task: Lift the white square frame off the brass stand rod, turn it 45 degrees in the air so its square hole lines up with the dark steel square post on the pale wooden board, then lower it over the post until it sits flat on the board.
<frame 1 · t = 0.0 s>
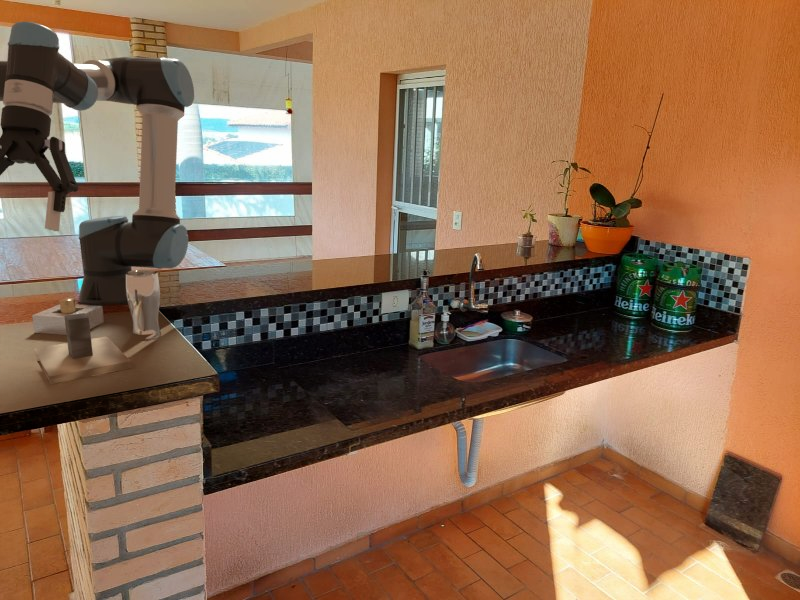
hand: (15, 228, 105), 28 cm above the worktop, tool tilted 20°, fingers open, 13 cm apart
stand: (71, 333, 135), on the worktop
hub base: (81, 361, 119), on the worktop
white square frame: (70, 327, 134), point 1 cm above the worktop, touching stand
beer glass: (146, 337, 135), on the worktop
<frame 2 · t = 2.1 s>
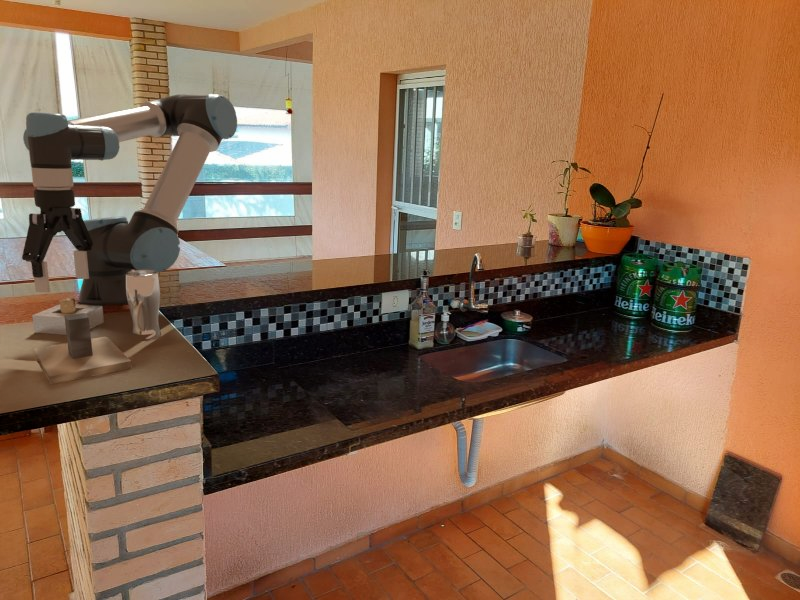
hand: (63, 284, 131), 12 cm above the worktop, tool pointing down, fingers open, 13 cm apart
nothing on the worktop moved.
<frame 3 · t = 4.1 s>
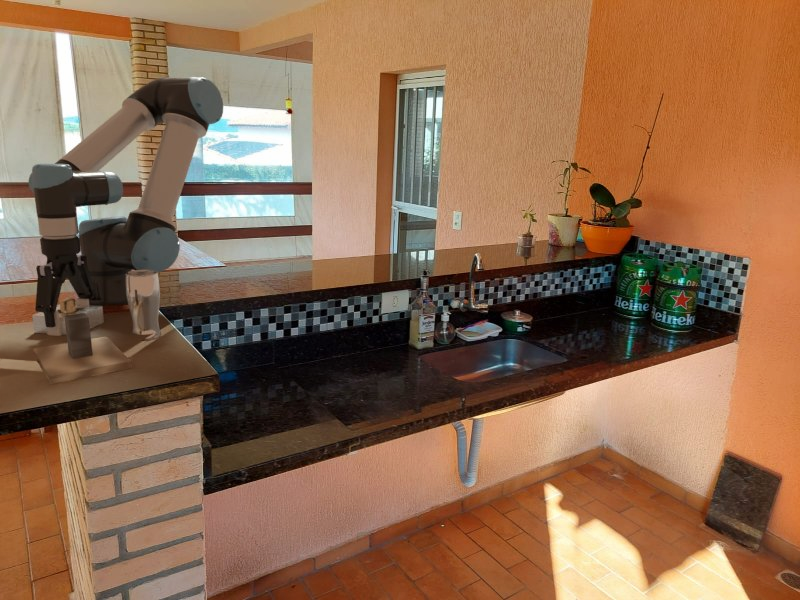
hand: (70, 332, 135), 0 cm above the worktop, tool pointing down, fingers closed on white square frame, 10 cm apart
white square frame: (70, 327, 134), point 2 cm above the worktop, touching gripper
everything else where it was.
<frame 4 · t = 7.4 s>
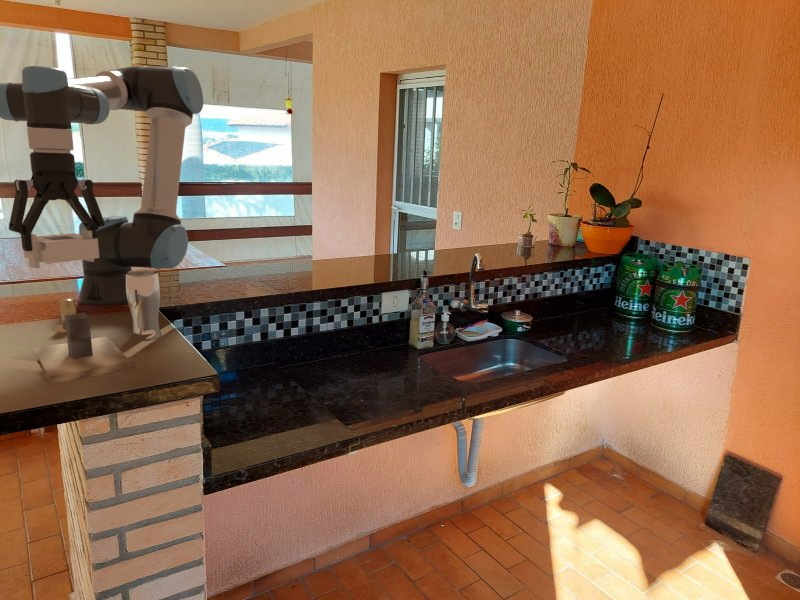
hand: (62, 263, 120), 19 cm above the worktop, tool pointing down, fingers closed on white square frame, 10 cm apart
white square frame: (62, 257, 120), point 20 cm above the worktop, touching gripper
everything else where it was.
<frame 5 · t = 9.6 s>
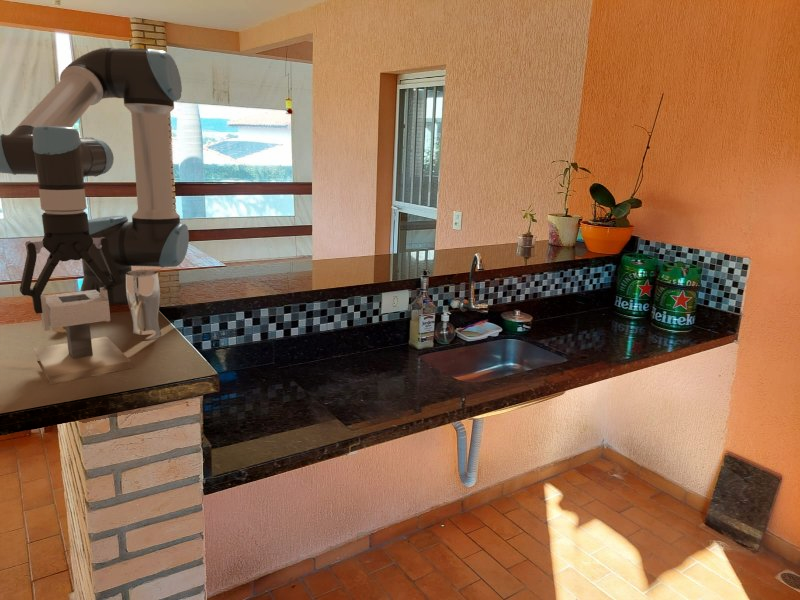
hand: (77, 324, 117), 8 cm above the worktop, tool pointing down, fingers closed on white square frame, 10 cm apart
white square frame: (76, 317, 116), point 9 cm above the worktop, touching gripper
everything else where it was.
when the fingers open (3 cm above the worktop, at t = 11.2 s): white square frame drops 2 cm, resting on hub base.
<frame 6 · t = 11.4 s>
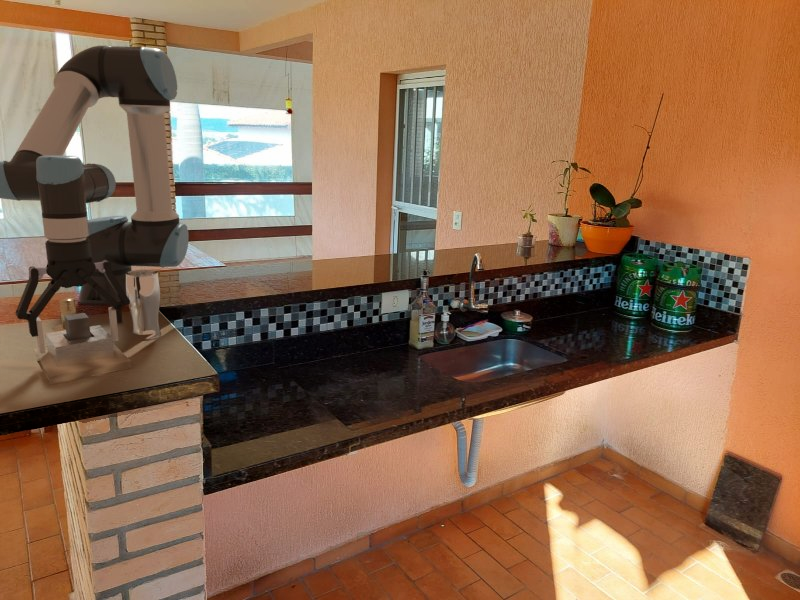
hand: (79, 345, 118), 4 cm above the worktop, tool pointing down, fingers open, 12 cm apart
white square frame: (80, 354, 118), point 1 cm above the worktop, touching hub base
everything else where it was.
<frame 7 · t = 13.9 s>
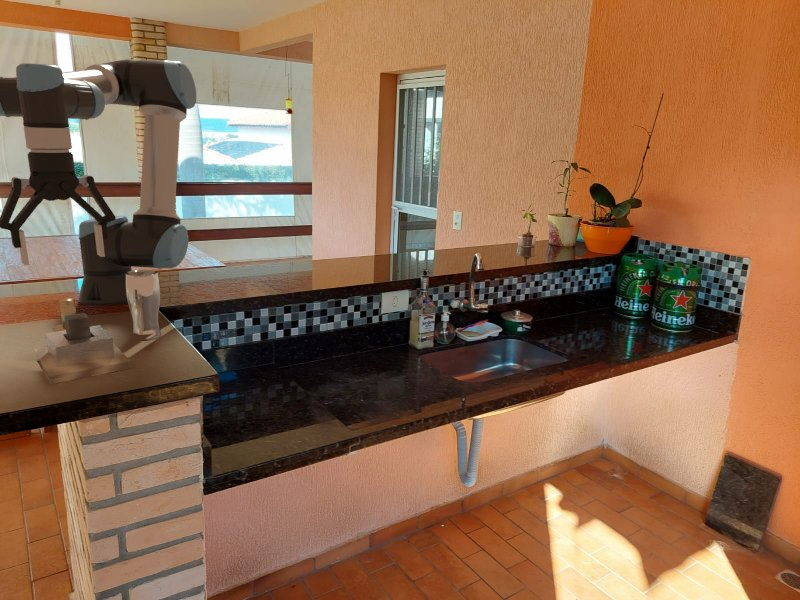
hand: (64, 259, 118), 20 cm above the worktop, tool pointing down, fingers open, 13 cm apart
nothing on the worktop moved.
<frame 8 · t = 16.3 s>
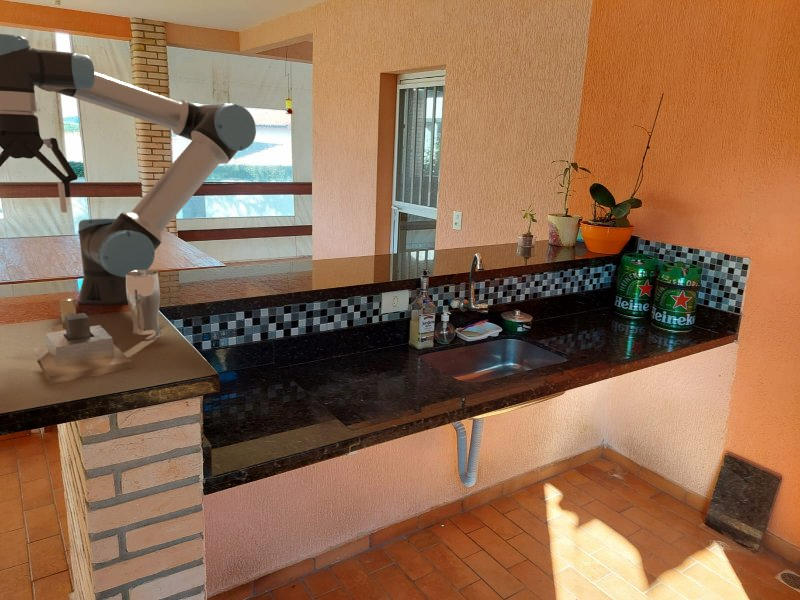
hand: (29, 213, 131), 27 cm above the worktop, tool pointing down, fingers open, 13 cm apart
nothing on the worktop moved.
at the end: white square frame 0.1 cm off-centre on the hub base, point 1.5 cm above the hub base's base; white square frame tilted 0°; the gripper is holding nothing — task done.
